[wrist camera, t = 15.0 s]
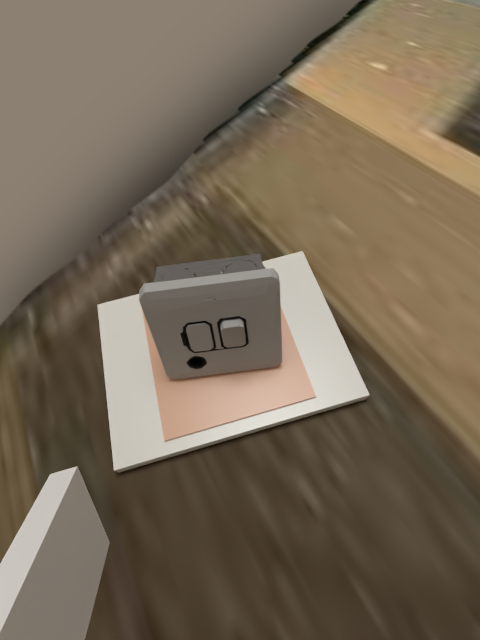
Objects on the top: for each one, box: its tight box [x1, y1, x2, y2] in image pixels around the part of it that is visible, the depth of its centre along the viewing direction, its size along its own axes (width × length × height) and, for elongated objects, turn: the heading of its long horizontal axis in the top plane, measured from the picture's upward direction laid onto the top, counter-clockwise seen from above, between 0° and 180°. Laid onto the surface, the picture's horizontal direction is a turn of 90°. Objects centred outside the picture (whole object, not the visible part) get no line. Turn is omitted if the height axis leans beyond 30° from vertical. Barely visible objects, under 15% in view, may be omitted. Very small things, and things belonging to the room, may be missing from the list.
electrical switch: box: [139, 254, 282, 379], centre depth 29 cm, size 9×5×9 cm, turn 96°
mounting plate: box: [98, 251, 369, 473], centre depth 33 cm, size 20×15×1 cm
